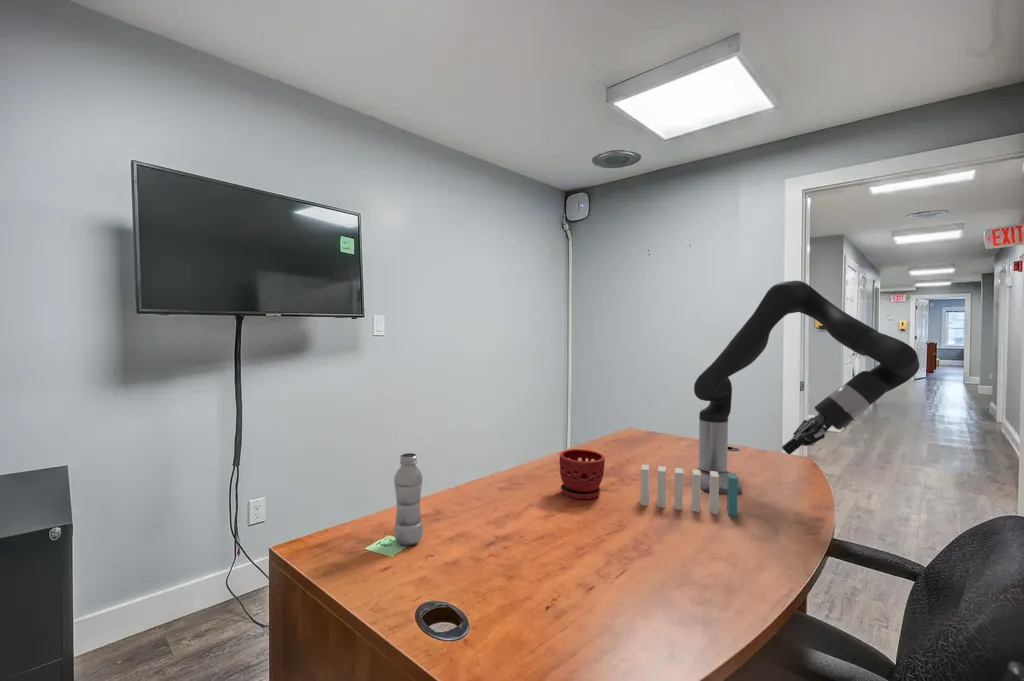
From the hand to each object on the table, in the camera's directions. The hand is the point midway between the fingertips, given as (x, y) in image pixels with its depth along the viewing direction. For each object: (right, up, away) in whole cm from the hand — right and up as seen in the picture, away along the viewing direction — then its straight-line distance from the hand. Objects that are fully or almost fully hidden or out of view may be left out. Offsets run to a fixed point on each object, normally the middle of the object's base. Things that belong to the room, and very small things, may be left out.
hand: (785, 451), depth 125 cm
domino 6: (-12, -18, +5) cm, 22 cm away
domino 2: (-29, -17, +10) cm, 35 cm away
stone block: (-7, -18, +24) cm, 30 cm away
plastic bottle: (-94, -18, -14) cm, 97 cm away
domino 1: (-33, -17, +12) cm, 39 cm away
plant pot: (-50, -17, +18) cm, 56 cm away
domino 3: (-24, -17, +9) cm, 31 cm away
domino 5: (-16, -17, +6) cm, 24 cm away
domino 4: (-20, -17, +8) cm, 28 cm away
